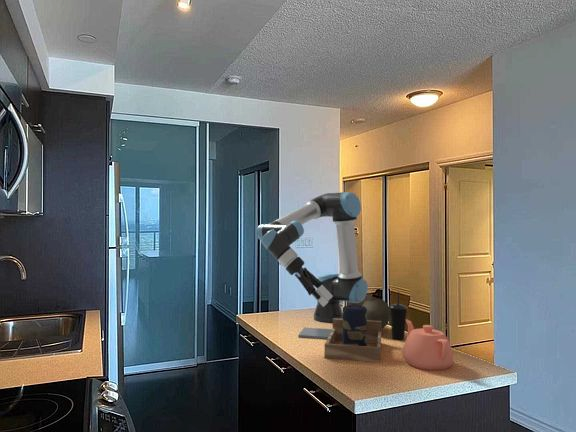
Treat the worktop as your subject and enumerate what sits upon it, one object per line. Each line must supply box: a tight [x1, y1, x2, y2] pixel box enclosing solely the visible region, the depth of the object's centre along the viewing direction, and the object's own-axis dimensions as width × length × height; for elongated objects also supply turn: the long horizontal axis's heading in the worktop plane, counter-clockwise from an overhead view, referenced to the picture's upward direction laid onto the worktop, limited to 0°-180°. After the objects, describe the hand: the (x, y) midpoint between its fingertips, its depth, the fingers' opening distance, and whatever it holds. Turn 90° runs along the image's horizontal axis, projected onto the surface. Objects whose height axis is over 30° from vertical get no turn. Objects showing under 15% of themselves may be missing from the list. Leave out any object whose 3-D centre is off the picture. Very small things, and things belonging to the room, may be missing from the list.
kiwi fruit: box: [361, 297, 391, 330], centre depth 202 cm, size 14×14×15 cm
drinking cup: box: [388, 291, 408, 341], centre depth 190 cm, size 8×8×20 cm
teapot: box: [402, 318, 455, 371], centre depth 158 cm, size 25×17×13 cm
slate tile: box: [297, 327, 333, 340], centre depth 195 cm, size 14×14×1 cm
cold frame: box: [323, 318, 382, 363], centre depth 172 cm, size 26×20×9 cm
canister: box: [342, 303, 368, 346], centre depth 172 cm, size 10×10×18 cm
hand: (328, 301), depth 174 cm, fingers open, 13 cm apart
